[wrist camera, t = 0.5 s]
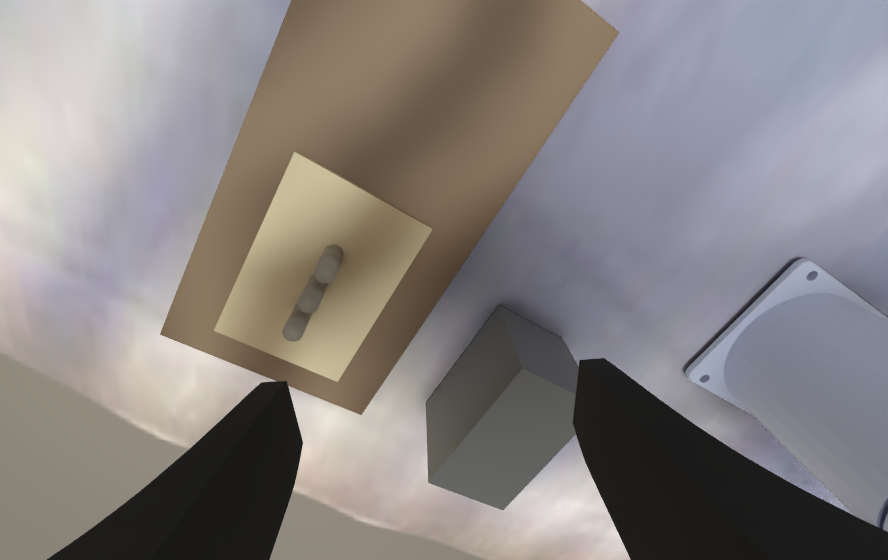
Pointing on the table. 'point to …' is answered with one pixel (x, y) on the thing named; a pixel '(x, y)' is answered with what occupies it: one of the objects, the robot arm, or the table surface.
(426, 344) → the table surface
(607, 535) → the table surface
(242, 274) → the pin board
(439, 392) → the block
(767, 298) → the robot arm
